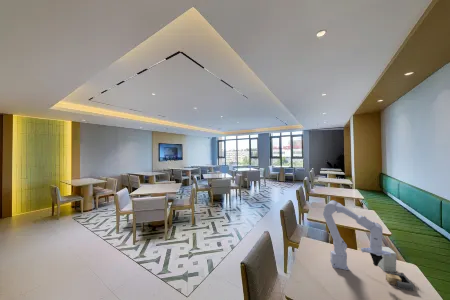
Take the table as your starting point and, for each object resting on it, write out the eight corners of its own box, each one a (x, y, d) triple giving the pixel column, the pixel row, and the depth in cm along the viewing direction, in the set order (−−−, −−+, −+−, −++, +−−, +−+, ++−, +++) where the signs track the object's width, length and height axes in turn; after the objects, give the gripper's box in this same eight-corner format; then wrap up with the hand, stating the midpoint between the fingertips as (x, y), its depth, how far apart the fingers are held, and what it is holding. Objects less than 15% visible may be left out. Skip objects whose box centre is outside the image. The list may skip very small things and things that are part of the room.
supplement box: (396, 272, 114) (397, 253, 114) (383, 271, 116) (383, 252, 115) (388, 264, 121) (388, 246, 121) (376, 263, 123) (376, 245, 122)
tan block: (388, 283, 106) (388, 277, 106) (385, 279, 109) (385, 273, 109) (401, 286, 104) (401, 279, 104) (398, 282, 107) (398, 275, 107)
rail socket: (397, 287, 103) (397, 282, 102) (388, 275, 112) (388, 270, 112) (413, 291, 100) (413, 285, 100) (402, 278, 109) (403, 272, 109)
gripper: (364, 245, 107) (363, 266, 108) (394, 249, 102) (393, 272, 103) (359, 239, 114) (359, 259, 114) (388, 243, 109) (387, 264, 109)
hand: (375, 265), depth 109 cm, fingers closed
